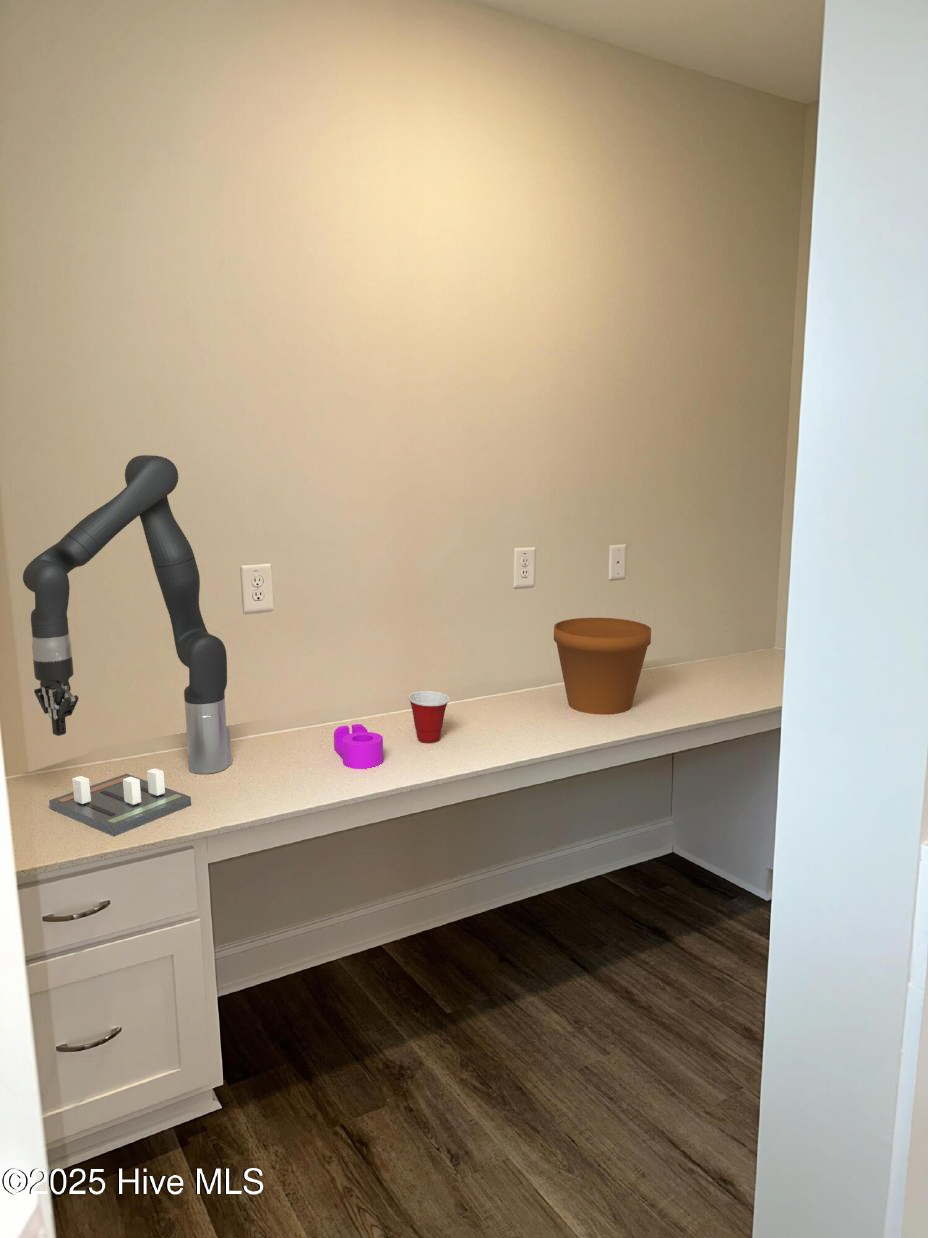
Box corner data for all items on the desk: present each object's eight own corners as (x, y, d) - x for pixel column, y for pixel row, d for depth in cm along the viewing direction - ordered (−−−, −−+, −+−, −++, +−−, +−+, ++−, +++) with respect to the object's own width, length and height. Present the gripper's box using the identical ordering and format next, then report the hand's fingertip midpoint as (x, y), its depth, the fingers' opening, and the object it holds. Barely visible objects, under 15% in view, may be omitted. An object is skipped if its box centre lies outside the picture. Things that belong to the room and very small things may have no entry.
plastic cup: (432, 750, 234) (432, 704, 231) (400, 741, 240) (399, 697, 238) (458, 738, 242) (458, 695, 240) (426, 730, 249) (426, 687, 246)
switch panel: (127, 781, 213) (126, 773, 212) (191, 805, 199) (190, 796, 199) (50, 809, 197) (49, 799, 197) (113, 836, 184) (113, 826, 184)
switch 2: (156, 789, 202) (154, 768, 201) (164, 792, 200) (163, 771, 199) (148, 792, 200) (147, 771, 199) (157, 795, 198) (155, 774, 197)
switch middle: (132, 798, 197) (130, 776, 196) (141, 801, 195) (139, 779, 194) (124, 801, 195) (122, 779, 194) (133, 804, 194) (131, 782, 193)
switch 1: (82, 797, 197) (80, 775, 196) (90, 801, 196) (89, 778, 195) (74, 800, 196) (72, 778, 195) (82, 804, 194) (80, 781, 193)
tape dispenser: (388, 766, 223) (388, 742, 222) (349, 772, 219) (348, 747, 218) (368, 745, 238) (367, 722, 236) (331, 751, 234) (330, 727, 232)
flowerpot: (589, 725, 253) (592, 642, 248) (534, 699, 277) (535, 623, 272) (667, 710, 266) (671, 631, 262) (608, 687, 290) (610, 614, 286)
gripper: (87, 656, 192) (93, 735, 196) (50, 648, 199) (57, 724, 203) (54, 664, 186) (61, 745, 190) (17, 654, 193) (25, 733, 197)
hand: (59, 734), depth 196 cm, fingers closed
